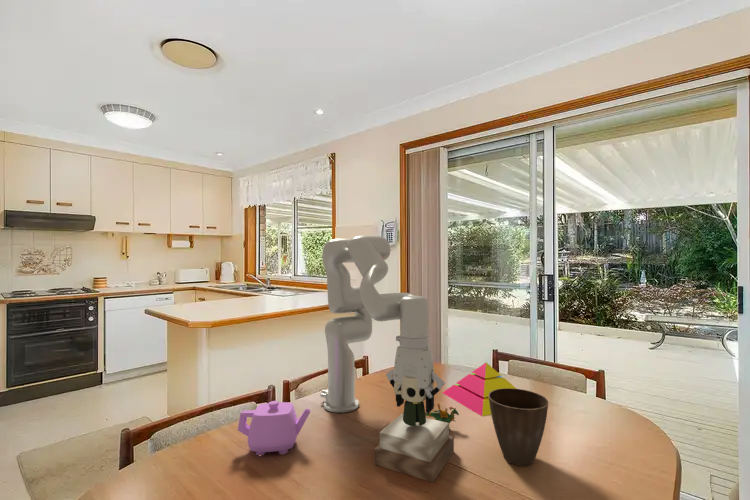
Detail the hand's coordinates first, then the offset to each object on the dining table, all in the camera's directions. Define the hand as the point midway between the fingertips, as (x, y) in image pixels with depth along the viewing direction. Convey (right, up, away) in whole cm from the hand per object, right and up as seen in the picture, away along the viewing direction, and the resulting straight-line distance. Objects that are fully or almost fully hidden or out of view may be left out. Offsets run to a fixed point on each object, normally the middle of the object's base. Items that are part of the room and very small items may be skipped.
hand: (414, 407), depth 101 cm
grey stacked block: (0, -13, 0) cm, 13 cm away
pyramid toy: (+31, -14, +41) cm, 53 cm away
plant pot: (+27, -13, -1) cm, 30 cm away
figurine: (+10, -14, +16) cm, 23 cm away
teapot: (-39, -14, +6) cm, 42 cm away
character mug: (0, -4, 0) cm, 4 cm away
